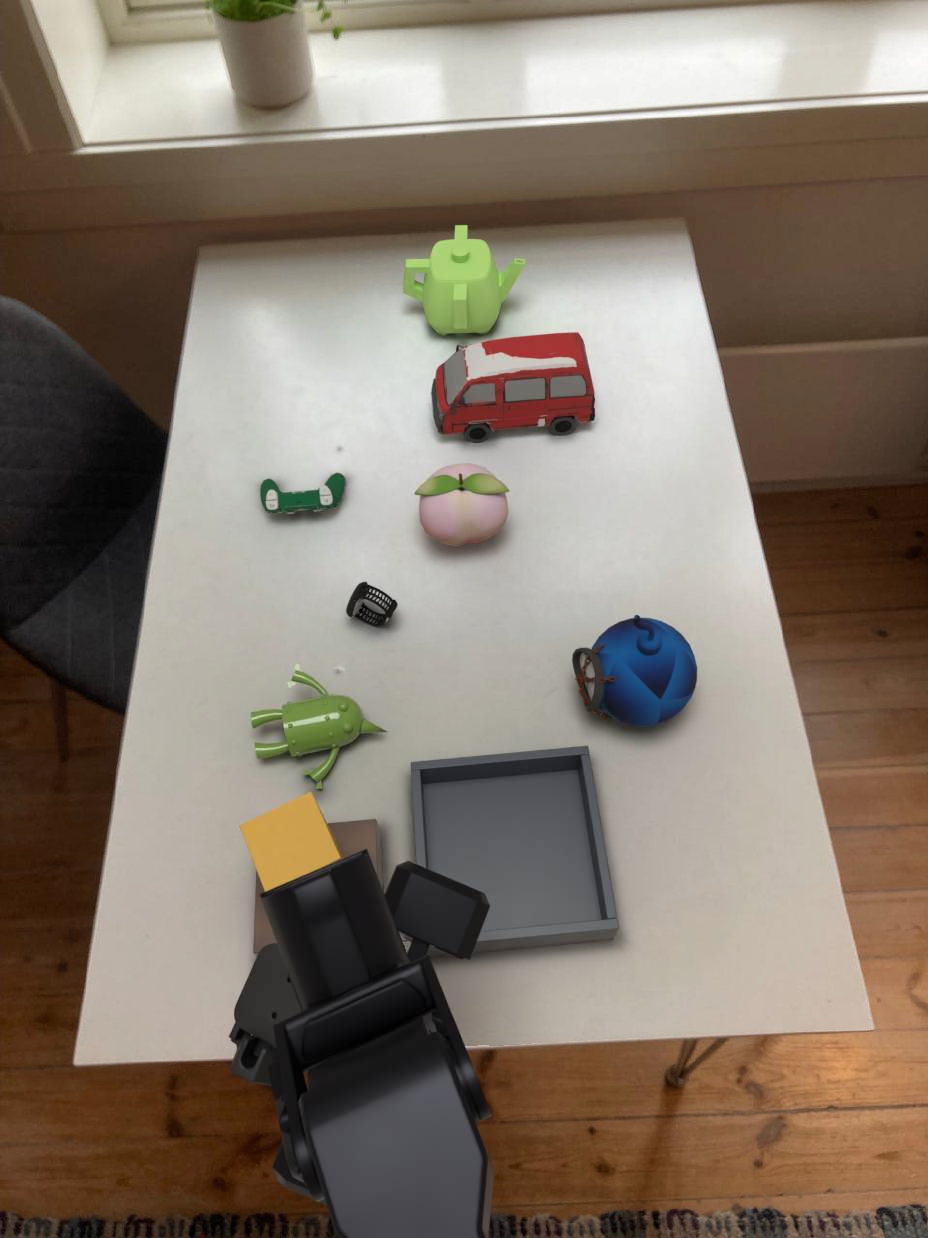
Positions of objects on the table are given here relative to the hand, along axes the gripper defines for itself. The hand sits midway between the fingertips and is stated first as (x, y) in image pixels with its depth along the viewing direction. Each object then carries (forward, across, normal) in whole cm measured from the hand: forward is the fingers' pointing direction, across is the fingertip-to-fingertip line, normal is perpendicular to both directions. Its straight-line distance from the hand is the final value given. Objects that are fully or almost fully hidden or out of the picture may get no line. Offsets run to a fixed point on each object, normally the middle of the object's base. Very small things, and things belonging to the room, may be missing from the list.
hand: (384, 1003), depth 62 cm
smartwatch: (+23, -29, -14) cm, 40 cm away
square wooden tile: (+15, -4, -7) cm, 17 cm away
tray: (+14, -13, +6) cm, 20 cm away
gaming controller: (+29, -40, -26) cm, 56 cm away
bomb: (+17, -31, +12) cm, 37 cm away
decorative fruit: (+26, -42, -9) cm, 50 cm away
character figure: (+20, -16, -13) cm, 29 cm away
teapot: (+36, -73, -20) cm, 84 cm away
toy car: (+30, -59, -9) cm, 67 cm away
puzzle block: (+11, -5, -8) cm, 15 cm away
